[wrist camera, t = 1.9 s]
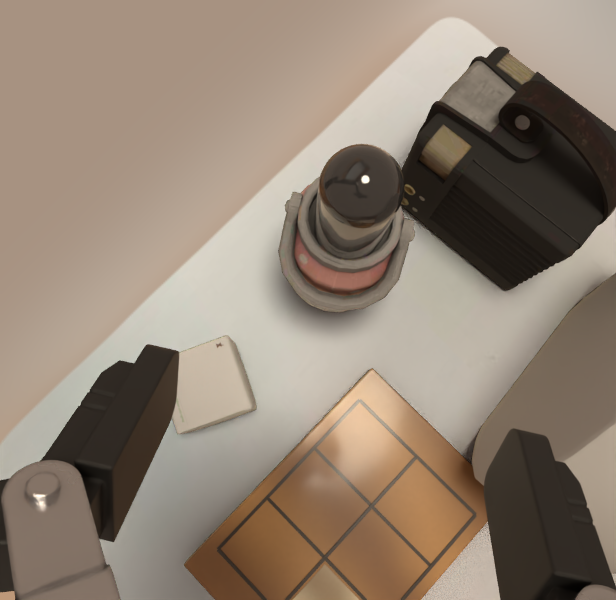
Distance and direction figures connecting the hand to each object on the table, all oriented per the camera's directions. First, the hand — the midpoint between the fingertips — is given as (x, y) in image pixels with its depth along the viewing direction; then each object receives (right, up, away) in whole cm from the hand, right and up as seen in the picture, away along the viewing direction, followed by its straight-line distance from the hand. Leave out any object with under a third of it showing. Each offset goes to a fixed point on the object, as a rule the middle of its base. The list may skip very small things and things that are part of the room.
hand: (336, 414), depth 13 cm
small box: (-8, -4, +31) cm, 32 cm away
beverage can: (+1, +5, +33) cm, 33 cm away
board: (+2, -15, +29) cm, 32 cm away
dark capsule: (+2, +7, +21) cm, 22 cm away
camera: (+14, +11, +35) cm, 39 cm away
